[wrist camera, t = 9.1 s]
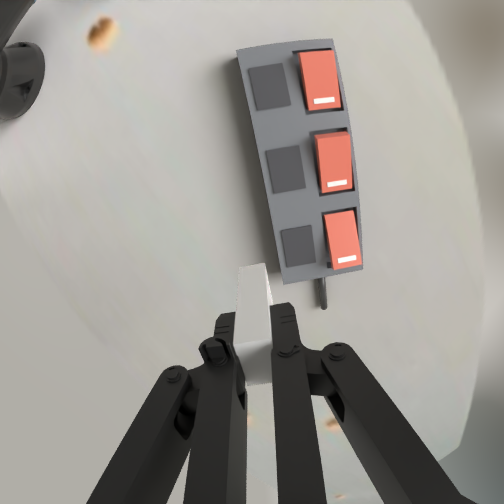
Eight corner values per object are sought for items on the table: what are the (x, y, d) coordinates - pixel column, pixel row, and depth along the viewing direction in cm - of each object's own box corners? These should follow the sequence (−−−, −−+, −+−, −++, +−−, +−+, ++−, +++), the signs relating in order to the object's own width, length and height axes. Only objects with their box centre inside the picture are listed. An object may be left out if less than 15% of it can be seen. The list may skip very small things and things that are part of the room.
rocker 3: (331, 268, 43) (333, 269, 42) (322, 215, 43) (324, 215, 41) (359, 263, 43) (362, 264, 41) (350, 210, 43) (353, 210, 41)
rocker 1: (306, 108, 36) (309, 110, 35) (297, 52, 31) (300, 53, 30) (337, 104, 36) (340, 107, 34) (329, 50, 31) (333, 50, 29)
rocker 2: (319, 187, 41) (322, 193, 40) (314, 135, 36) (317, 139, 34) (348, 183, 40) (352, 188, 39) (345, 131, 35) (350, 135, 34)
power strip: (288, 312, 53) (290, 327, 49) (237, 56, 35) (235, 49, 31) (356, 299, 52) (363, 312, 48) (325, 45, 34) (333, 38, 30)
